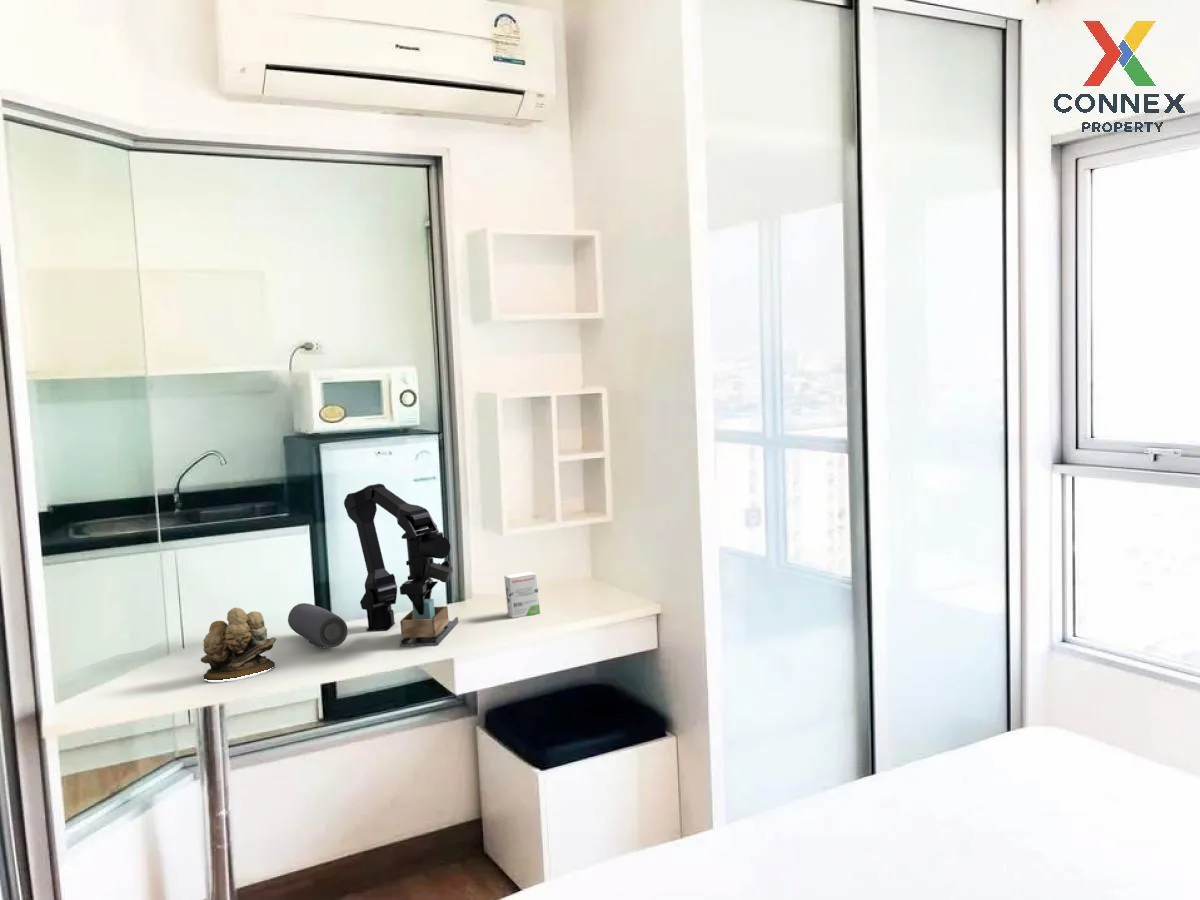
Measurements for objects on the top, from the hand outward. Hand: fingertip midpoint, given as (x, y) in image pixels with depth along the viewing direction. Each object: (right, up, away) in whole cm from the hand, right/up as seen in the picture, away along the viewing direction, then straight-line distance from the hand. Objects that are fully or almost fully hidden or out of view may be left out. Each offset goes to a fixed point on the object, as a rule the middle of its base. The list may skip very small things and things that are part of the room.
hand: (424, 612), depth 261 cm
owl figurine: (-42, -12, -18) cm, 48 cm away
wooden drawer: (+1, -7, +1) cm, 7 cm away
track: (+1, -7, +4) cm, 8 cm away
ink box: (+26, -4, +18) cm, 31 cm away
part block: (0, -2, 0) cm, 2 cm away
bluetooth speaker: (-29, -9, +3) cm, 31 cm away
